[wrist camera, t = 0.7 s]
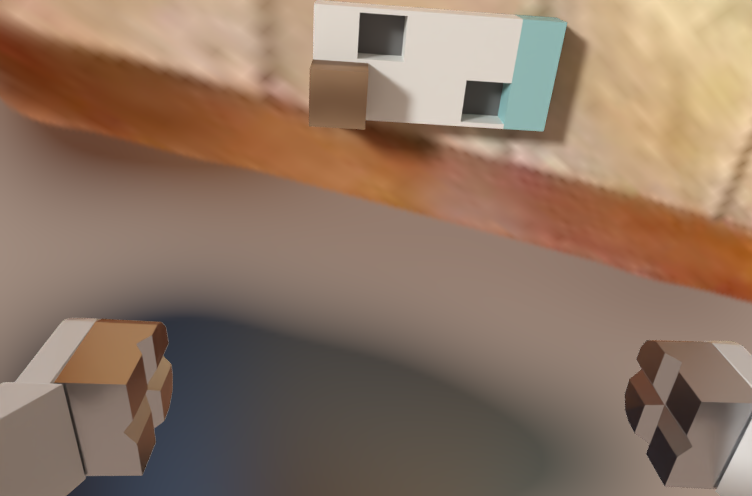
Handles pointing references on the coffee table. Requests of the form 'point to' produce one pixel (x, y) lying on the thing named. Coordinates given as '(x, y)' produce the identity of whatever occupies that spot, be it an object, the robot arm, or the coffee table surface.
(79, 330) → the robot arm
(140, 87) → the coffee table surface
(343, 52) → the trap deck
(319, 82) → the block
